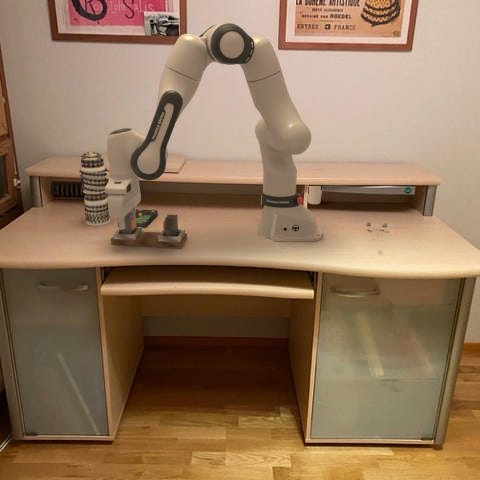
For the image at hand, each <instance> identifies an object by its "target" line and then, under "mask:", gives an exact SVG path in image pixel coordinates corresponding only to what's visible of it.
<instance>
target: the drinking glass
mask: <svg viewBox="0 0 480 480" xmlns="http://www.w3.org/2000/svg"><path fill="white" fill-rule="evenodd" d="M310 167H322V168H324V169H325V167H324V166H320V165H311V166H308V167H307V170H308V169H311V168H310ZM311 170H323V169H311ZM325 170H326V169H325ZM322 193H323V189H322V190H321V186H309V194H308V193H307V203H308V204H309V205H313V206H314V205H320V204H321V201H322V199H321V198H322Z"/></svg>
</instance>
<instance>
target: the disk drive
mask: <svg viewBox="0 0 480 480" xmlns="http://www.w3.org/2000/svg"><path fill="white" fill-rule="evenodd" d="M158 213H159V211H158V210H155V209H142V210H140V209H138V208H136V212H135V218H136V225H137V227H142V229H146V228H148V226H149V225H151V223H153V221H154V220H155V219H156V218H157V217H158V215H159V214H158ZM117 227H118V228H119V224H118V223H117Z"/></svg>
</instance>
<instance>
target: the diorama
mask: <svg viewBox="0 0 480 480" xmlns="http://www.w3.org/2000/svg"><path fill="white" fill-rule="evenodd" d="M365 225H366V227H368V229H369V232H373V230H374V231H383V232H384V230H385V228H387V227H388V223H387V222H385V223H383V224H381V227H382V228H380V229H379V228H378V229H377V228H373V229H372V228H370V227H371V226H372V223H371V222H370V221H367V222H366V224H365Z"/></svg>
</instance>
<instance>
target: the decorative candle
mask: <svg viewBox="0 0 480 480" xmlns="http://www.w3.org/2000/svg"><path fill="white" fill-rule="evenodd" d="M104 157H105V156H104V155H102V154H101V153H100V152H99V151H98V152H97V151H87V152H83V153H82V154H81V156H80V157H79V160H80V163H81V164H80V165H81V166H80V169H81V170H79V173H80V175H79V177H80V182H81V183H82V184H81V188H82V193H83V195H84V199H83V200H84V204H83V206H84V211H85V213H84V215H85V223H86V225H88V226H93V227H94V226H96V227H97V226H105V225H107V224H109V223H110V222H111V219H110V218H111V217H110V215H109V209H108V200H107V197H108V194H106V192H105V187H106V185H107V183H108V182H107V181H108V178H106V176H107V175H108V173H107V171H108V170H107V168H106V167H105V164H104V163H105V161H104V160H105V159H104Z"/></svg>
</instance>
